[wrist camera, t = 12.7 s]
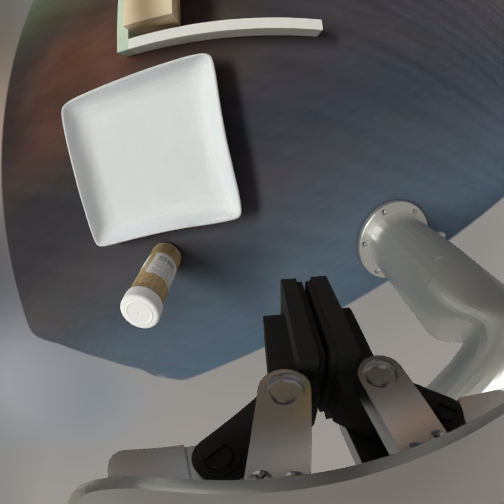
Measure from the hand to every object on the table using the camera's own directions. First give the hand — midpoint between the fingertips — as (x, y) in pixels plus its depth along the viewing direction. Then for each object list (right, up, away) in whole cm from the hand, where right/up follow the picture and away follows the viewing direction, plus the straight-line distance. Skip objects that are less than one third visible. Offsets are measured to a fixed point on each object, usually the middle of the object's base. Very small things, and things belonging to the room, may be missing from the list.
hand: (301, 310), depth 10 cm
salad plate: (-15, +15, +23) cm, 31 cm away
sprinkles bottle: (-14, +2, +29) cm, 32 cm away
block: (-14, +33, +14) cm, 38 cm away
